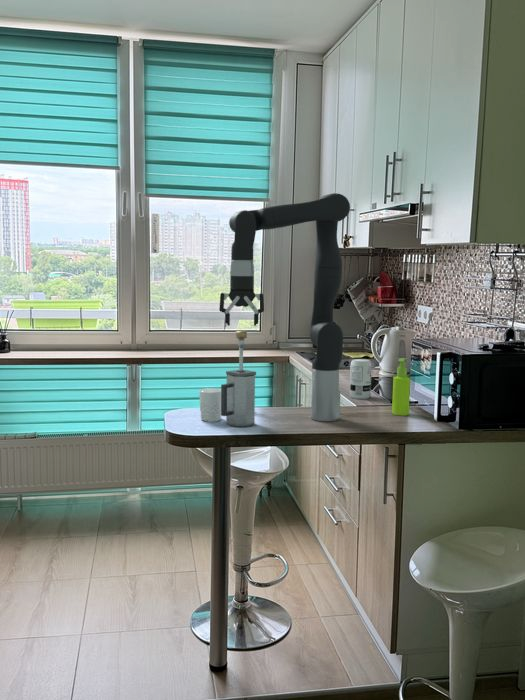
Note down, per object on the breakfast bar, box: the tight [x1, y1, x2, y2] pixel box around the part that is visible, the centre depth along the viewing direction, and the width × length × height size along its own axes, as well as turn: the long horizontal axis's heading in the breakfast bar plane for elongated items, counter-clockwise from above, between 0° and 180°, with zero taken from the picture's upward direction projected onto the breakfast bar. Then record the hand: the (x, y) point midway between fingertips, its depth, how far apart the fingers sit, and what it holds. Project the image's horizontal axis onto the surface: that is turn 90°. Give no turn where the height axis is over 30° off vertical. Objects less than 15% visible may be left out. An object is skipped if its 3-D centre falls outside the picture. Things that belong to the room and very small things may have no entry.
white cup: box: [198, 387, 222, 422], centre depth 225 cm, size 8×8×10 cm
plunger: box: [235, 330, 248, 372], centre depth 216 cm, size 4×4×20 cm
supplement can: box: [349, 358, 373, 400], centre depth 266 cm, size 8×8×15 cm
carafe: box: [220, 369, 257, 429], centre depth 217 cm, size 14×9×18 cm
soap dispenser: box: [391, 357, 411, 417], centre depth 236 cm, size 6×7×20 cm
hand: (241, 325), depth 215 cm, fingers open, 8 cm apart
